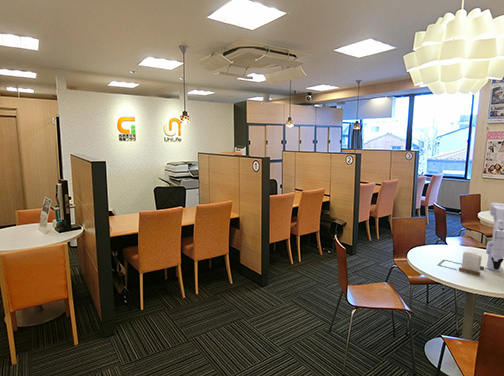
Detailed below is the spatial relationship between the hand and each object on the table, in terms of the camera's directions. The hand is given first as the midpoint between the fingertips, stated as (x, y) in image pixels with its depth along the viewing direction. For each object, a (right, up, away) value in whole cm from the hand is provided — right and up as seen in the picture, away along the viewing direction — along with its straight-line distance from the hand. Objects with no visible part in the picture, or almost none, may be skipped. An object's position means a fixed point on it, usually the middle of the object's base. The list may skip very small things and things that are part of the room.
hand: (496, 269), depth 192 cm
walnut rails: (-9, -3, +10) cm, 13 cm away
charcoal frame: (-17, -2, +18) cm, 25 cm away
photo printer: (-9, -3, +10) cm, 14 cm away
